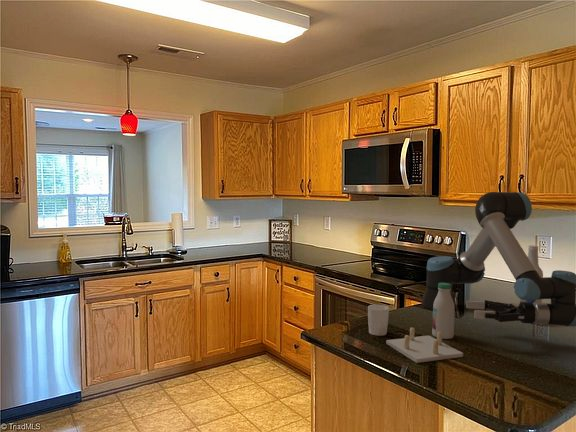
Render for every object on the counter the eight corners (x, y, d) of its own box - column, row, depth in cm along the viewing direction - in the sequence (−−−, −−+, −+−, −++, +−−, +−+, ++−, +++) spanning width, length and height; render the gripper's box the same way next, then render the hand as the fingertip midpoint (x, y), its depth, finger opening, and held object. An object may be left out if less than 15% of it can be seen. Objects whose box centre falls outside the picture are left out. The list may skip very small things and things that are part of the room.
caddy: (386, 343, 153) (386, 328, 153) (428, 338, 159) (429, 324, 159) (416, 362, 136) (417, 345, 136) (462, 356, 142) (463, 340, 142)
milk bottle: (457, 336, 162) (459, 283, 161) (448, 341, 157) (450, 286, 156) (437, 331, 168) (439, 280, 166) (428, 336, 162) (430, 283, 161)
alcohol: (544, 310, 200) (547, 246, 198) (536, 313, 194) (539, 247, 193) (524, 306, 207) (527, 244, 205) (516, 309, 201) (519, 245, 200)
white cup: (389, 331, 167) (390, 305, 166) (387, 337, 160) (387, 311, 159) (368, 328, 170) (369, 303, 169) (365, 334, 162) (366, 308, 162)
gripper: (545, 334, 143) (477, 329, 148) (520, 313, 168) (463, 310, 172) (546, 312, 143) (478, 308, 147) (521, 294, 167) (463, 291, 172)
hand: (470, 309), depth 160 cm, fingers open, 13 cm apart
